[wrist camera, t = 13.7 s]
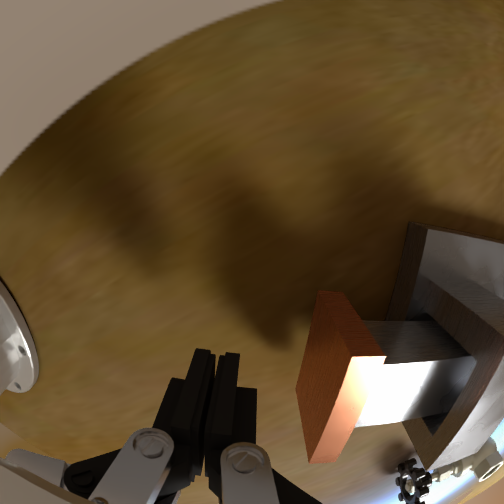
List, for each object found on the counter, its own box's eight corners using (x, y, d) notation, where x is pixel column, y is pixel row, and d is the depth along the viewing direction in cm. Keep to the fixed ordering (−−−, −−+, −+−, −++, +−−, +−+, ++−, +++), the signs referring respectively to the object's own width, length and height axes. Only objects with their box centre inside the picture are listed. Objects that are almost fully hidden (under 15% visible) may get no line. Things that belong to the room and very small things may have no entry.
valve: (490, 411, 20) (405, 449, 20) (517, 446, 13) (426, 498, 14) (471, 444, 22) (390, 478, 22) (491, 477, 15) (406, 520, 16)
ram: (295, 388, 15) (308, 463, 10) (317, 290, 13) (352, 357, 8) (473, 373, 15) (509, 415, 10) (504, 298, 13) (553, 333, 8)
